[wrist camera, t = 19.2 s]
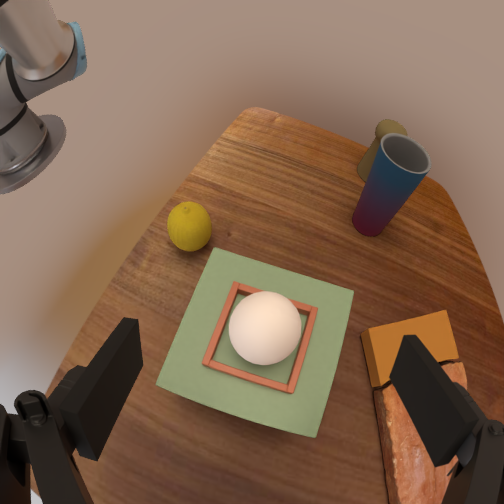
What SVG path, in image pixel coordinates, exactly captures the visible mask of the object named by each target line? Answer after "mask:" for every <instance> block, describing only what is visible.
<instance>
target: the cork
mask: <svg viewBox="0 0 504 504" xmlns="http://www.w3.org/2000/svg"><path fill="white" fill-rule="evenodd" d="M389 133H398V134H402V135H405V136H407V132H406V130H405V128H404V127H403V126H402V125H400V124H399V123H398V122H396V121H393V120H389V119H385V120H383V121H381V122H380V123H379V124H378V125H377V127H376V131H375V135H376V138H375V140H374V141H373V143H372V144H371V146H370V147H369V149H368V150H367V152H366V154H365V155H364V157H363V158H362V160H361V161H360V163H359V165H358V167H357V171H358V174H359V176H360V177H361V178H362V179H363V180H364V181H365V182H366V181H367V178H368V175H369V173H370V170H371V167H372V164H373V162H374V159H375V156H376V153H377V151H378V148H379V145H380V142H381V139H382V137H383V136H385V135H386V134H389Z"/></svg>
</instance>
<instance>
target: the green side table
mask: <svg viewBox="0 0 504 504" xmlns="http://www.w3.org/2000/svg"><path fill="white" fill-rule="evenodd" d="M262 291H269V292H275V293H278V294H280V295H283V296H284V297H286V298H287V299H288V300H290V301H291V302H292V303H293V305H294V306H295V307H296V308H297V310H298V313H299V315H300V319H301V336H300V339H299V341H298V344H297V346H296V347H295V349H294V350H293V352H292V353H291V354H290V355H289V356H288V357H286V358H285V359H283V360H282V361H280V362H278V363H274V364H270V365H259V364H253V363H251V362H249V361H247V360H245V359H244V358H243V357H241V356H240V355H239V354H238V353H237V352H236V350H235V349H234V347H233V345H232V343H231V341H230V336H229V322H230V317H231V315H232V313H233V311H234V309H235V307H236V306H237V305H238V304H239V303H240V301H241V300H242V299H244V298H245V297H247V296H249V295H251V294H253V293H257V292H262ZM353 294H354V291H352V290H349V289H346V288H342V287H339V286H336V285H333V284H330V283H326V282H323V281H320V280H317V279H314V278H310V277H307V276H304V275H301V274H298V273H295V272H291V271H288V270H285V269H282V268H279V267H275V266H272V265H269V264H266V263H263V262H260V261H257V260H253V259H250V258H247V257H244V256H241V255H238V254H234V253H231V252H228V251H225V250H222V249H219V248H216V247H214V248H213V251H212V253H211V255H210V257H209V260H208V262H207V264H206V266H205V269H204V271H203V273H202V275H201V278H200V280H199V282H198V284H197V287H196V289H195V291H194V294H193V296H192V298H191V301H190V303H189V305H188V307H187V310H186V312H185V314H184V317H183V319H182V322H181V324H180V326H179V329H178V331H177V333H176V336H175V338H174V340H173V343H172V345H171V348H170V350H169V353H168V355H167V357H166V360H165V362H164V365H163V367H162V370H161V372H160V374H159V377H158V379H157V382H156V385H157V386H159V387H161V388H163V389H166V390H168V391H170V392H173V393H175V394H178V395H180V396H183V397H185V398H188V399H190V400H193V401H195V402H198V403H200V404H203V405H206V406H208V407H211V408H214V409H217V410H220V411H222V412H225V413H228V414H231V415H234V416H237V417H240V418H243V419H246V420H250V421H253V422H256V423H259V424H263V425H266V426H270V427H273V428H277V429H280V430H284V431H288V432H292V433H296V434H300V435H304V436H308V437H312V438H316V435H317V432H318V429H319V426H320V423H321V419H322V416H323V413H324V410H325V406H326V403H327V400H328V396H329V393H330V389H331V386H332V382H333V378H334V375H335V371H336V367H337V364H338V360H339V356H340V352H341V348H342V344H343V339H344V335H345V331H346V327H347V322H348V318H349V313H350V308H351V304H352V299H353Z"/></svg>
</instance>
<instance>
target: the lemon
mask: <svg viewBox="0 0 504 504" xmlns="http://www.w3.org/2000/svg"><path fill="white" fill-rule="evenodd" d="M167 227H168V234H169V236H170V238H171V240H172V242H173V243H174V244H175V245H176V246H177V247H178V248H180V249H182V250H185V251H196V250H199V249H201V248H202V247H204V246H205V245H206V244H207V242H208V240H209V239H210V236H211V232H212V224H211V220H210V217H209V215H208V213H207V211H206V210H205V209H204V208H203V207H202V206H201V205H200V204H197V203H195V202H183V203H180V204H178V205H177V206H175V207H174V208H173V209H172V211H171V212H170V214H169V217H168V222H167Z"/></svg>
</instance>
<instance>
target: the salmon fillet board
mask: <svg viewBox="0 0 504 504" xmlns="http://www.w3.org/2000/svg"><path fill="white" fill-rule="evenodd" d="M415 334H416V335H417V337H418V338H419V339H420V340H421V342H422V343H423V344H424V345H425V347H426V348H427V349H428V350H429V352H430V353H431V354H432V355H433V357H434V358H435V359H436V361H437V362H440V361H443V362H442V363H439V364H440V366H441V367H442V368H443V370H444V371H445V372H446V374H447V375H448V376H449V378H450V379H451V380H452V382H457V383H459V384H460V385H462V386H463V387H464V388H465V389H466V390H467V378H466V372H465V369H464V366H463V362H461V361H459V362H453V361H444V360H448V359H456V358H459V357H458V352H457V348H456V344H455V340H454V337H453V333H452V329H451V326H450V322H449V318H448V315H447V312H446V310H443V311H439V312H436V313H432V314H428V315H424V316H420V317H416V318H412V319H408V320H404V321H400V322H395V323H391V324H387V325H382V326H377V327H373V328H368V329H367V330H365V331H364V332H363V333H361V339H362V343H363V347H364V352H365V357H366V361H367V366H368V371H369V376H370V381H371V386H372V387H377V386H382V385H383V384H384V383H386V382H387V381H389V380H390V378H389V376H390V373H391V370H392V368H393V365H394V362H395V359H396V356H397V353H398V351H399V348H400V345H401V341H402V338H403V335H415ZM374 399H375V407H376V412H377V420H378V425H379V431H380V437H381V447H382V451H383V460H384V469H385V470H386V485H387V488H388V495H389V503H390V504H441V503H442V500H443V497H444V495H445V492H446V489H447V487H448V484H449V481H450V478H451V475H452V473H451V474H450V475H449V476H447V474H448V473H449V471H450V470H451V469H452V468H453V466H454V465H455V464H456V462H457V461H458V458H457V456H456V455H455V456H454V457H453V459H452V460H451V461H450V463H449V464H446V465H443V466H439V467H434V465H433V463H432V461H431V459H430V456H429V454H428V452H427V450H426V448H425V446H424V444H423V442H422V440H421V438H420V436H419V434H418V432H417V430H416V428H415V426H414V424H413V422H412V420H411V418H410V416H409V414H408V412H407V410H406V408H405V406H404V405H403V403H402V401H401V399H400V397H399V395H398V393H397V391H396V389H395V387H394V386H393V384H392V383H391V384H390V385H388V386H386V387H383V388H379V389H375V390H374Z"/></svg>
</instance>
